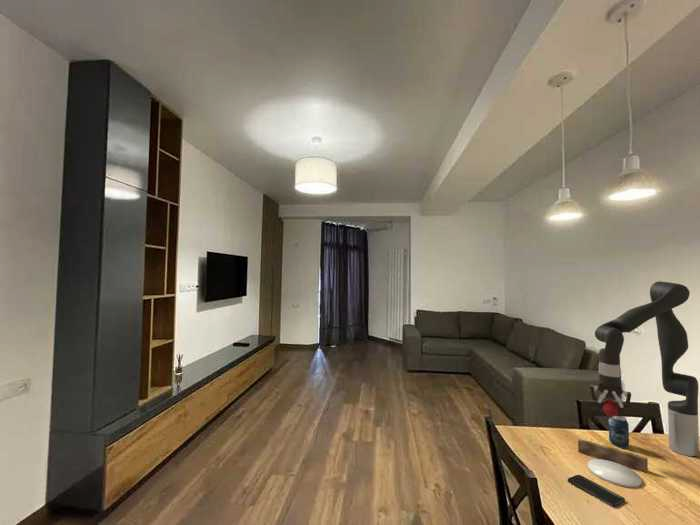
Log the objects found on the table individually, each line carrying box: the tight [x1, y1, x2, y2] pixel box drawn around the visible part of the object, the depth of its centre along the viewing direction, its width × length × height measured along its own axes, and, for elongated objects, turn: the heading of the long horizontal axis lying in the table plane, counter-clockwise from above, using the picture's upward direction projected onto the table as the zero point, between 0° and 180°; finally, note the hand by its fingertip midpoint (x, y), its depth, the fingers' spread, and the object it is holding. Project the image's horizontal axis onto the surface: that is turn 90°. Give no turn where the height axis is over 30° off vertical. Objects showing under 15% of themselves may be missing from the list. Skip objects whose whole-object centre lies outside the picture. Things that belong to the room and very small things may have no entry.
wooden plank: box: [577, 438, 649, 473], centre depth 131 cm, size 22×2×5 cm, turn 50°
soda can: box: [608, 414, 630, 449], centre depth 145 cm, size 7×7×12 cm
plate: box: [587, 458, 643, 488], centre depth 123 cm, size 16×16×1 cm
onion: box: [602, 398, 619, 418], centre depth 137 cm, size 6×6×8 cm
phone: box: [567, 474, 626, 508], centre depth 112 cm, size 8×1×15 cm
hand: (610, 413), depth 137 cm, fingers closed on onion, 6 cm apart
